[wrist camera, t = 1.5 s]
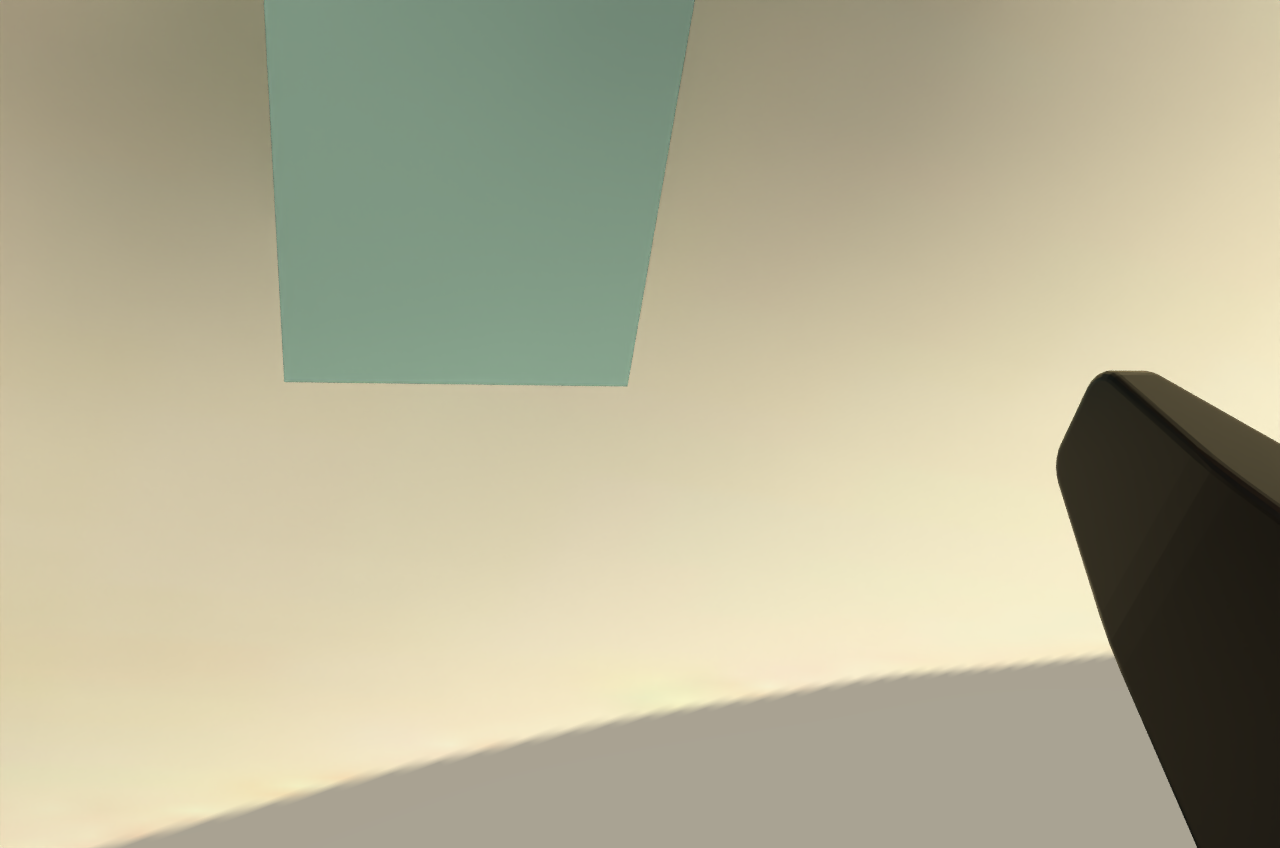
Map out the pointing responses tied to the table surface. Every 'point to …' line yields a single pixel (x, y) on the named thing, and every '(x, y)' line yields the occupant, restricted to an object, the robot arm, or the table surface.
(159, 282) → the table surface
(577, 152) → the teal brick
